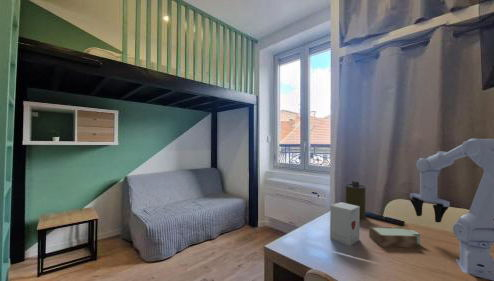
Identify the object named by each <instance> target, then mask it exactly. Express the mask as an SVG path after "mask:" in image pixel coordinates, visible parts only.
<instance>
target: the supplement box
mask: <svg viewBox="0 0 494 281" xmlns="http://www.w3.org/2000/svg"><path fill="white" fill-rule="evenodd" d="M359 217H360V206H356V205H351V204H347V203H346V202H341V201H340V202H338V203H333V204H330V222H329V229H330V230H329V239H331V240H333V241H336V242H338V243H341V244H344V245H347V246H352V245H354V244H355V243H356V242H359V241H360V220H359Z"/></svg>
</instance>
